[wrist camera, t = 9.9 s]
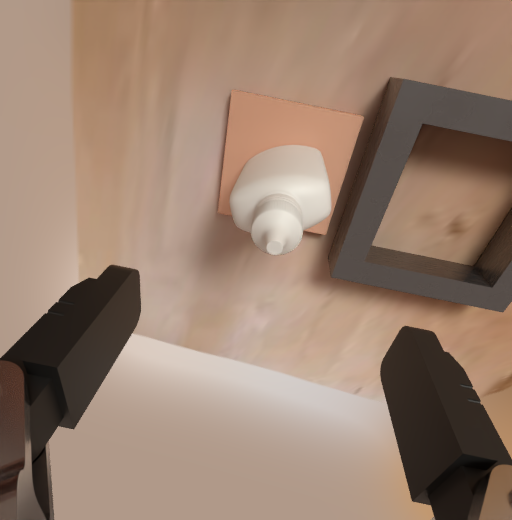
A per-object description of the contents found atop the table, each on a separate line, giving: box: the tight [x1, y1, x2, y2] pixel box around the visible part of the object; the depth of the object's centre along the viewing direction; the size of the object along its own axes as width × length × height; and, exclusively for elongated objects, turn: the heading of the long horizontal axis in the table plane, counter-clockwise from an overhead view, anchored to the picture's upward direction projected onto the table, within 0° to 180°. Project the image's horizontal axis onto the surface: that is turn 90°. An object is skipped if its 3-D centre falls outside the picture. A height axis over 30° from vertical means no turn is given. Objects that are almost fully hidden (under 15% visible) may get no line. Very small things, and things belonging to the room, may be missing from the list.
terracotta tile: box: [218, 90, 364, 235], centre depth 24 cm, size 9×9×1 cm
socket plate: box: [328, 77, 512, 312], centre depth 23 cm, size 14×14×3 cm
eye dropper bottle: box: [229, 145, 331, 255], centre depth 18 cm, size 4×6×12 cm
